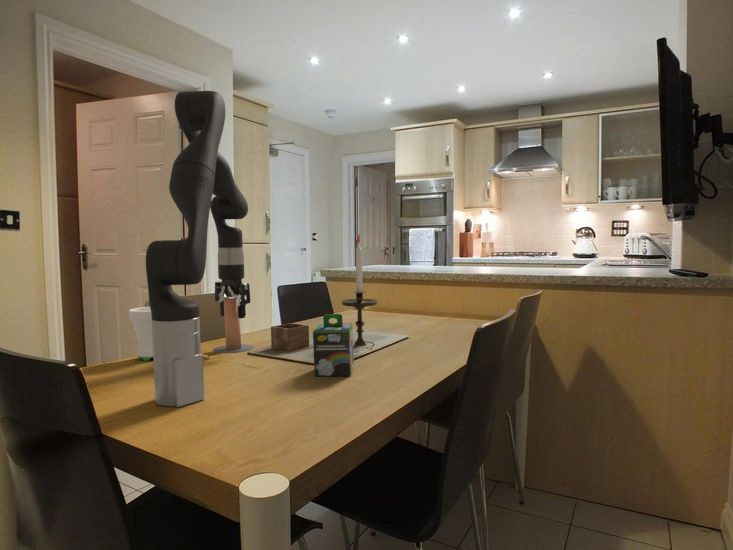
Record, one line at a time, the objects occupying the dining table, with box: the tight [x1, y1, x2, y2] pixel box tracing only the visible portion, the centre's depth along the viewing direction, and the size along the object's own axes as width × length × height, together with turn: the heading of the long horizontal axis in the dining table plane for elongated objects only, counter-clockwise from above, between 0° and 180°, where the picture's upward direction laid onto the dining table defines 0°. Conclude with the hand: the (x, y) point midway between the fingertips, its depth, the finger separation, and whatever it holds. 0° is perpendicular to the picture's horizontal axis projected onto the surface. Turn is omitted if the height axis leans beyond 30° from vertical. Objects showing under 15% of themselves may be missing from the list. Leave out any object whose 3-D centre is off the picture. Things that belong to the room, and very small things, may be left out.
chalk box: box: [312, 313, 355, 377], centre depth 119 cm, size 9×9×15 cm
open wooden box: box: [261, 322, 313, 355], centre depth 144 cm, size 12×12×7 cm
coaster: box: [212, 343, 255, 354], centre depth 143 cm, size 12×12×1 cm
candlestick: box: [341, 233, 378, 349], centre depth 145 cm, size 11×11×35 cm
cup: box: [128, 306, 153, 362], centre depth 136 cm, size 11×11×14 cm
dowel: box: [223, 297, 242, 350], centre depth 143 cm, size 4×4×15 cm
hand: (232, 316), depth 143 cm, fingers open, 8 cm apart
